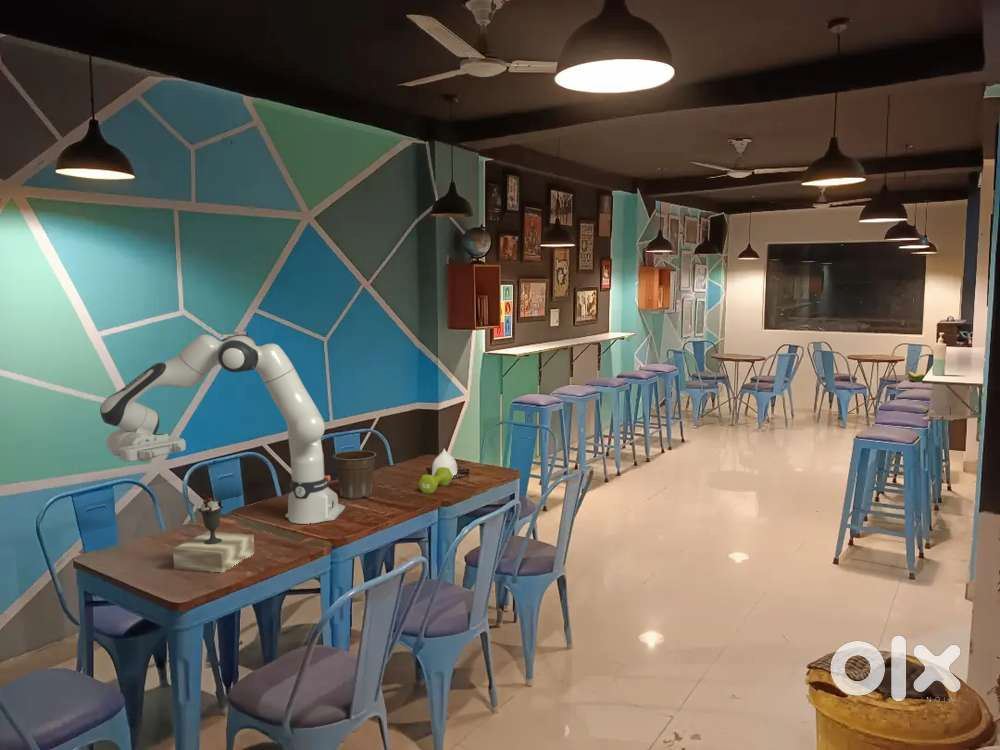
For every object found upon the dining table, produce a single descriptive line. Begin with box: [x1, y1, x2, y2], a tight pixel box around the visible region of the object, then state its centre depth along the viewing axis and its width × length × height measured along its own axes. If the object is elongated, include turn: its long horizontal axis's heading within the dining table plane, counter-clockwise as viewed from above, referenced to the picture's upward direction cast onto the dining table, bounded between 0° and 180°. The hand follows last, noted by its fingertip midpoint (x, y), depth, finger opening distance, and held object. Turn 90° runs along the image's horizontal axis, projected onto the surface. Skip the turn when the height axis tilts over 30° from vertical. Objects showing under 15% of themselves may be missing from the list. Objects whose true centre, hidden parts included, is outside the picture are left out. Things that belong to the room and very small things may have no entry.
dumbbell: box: [418, 467, 453, 495], centre depth 299 cm, size 16×8×7 cm, turn 156°
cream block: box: [172, 530, 255, 574], centre depth 222 cm, size 16×16×6 cm
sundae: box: [198, 493, 224, 544], centre depth 221 cm, size 7×7×15 cm
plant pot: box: [333, 450, 377, 500], centre depth 291 cm, size 16×16×16 cm
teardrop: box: [431, 448, 458, 476], centre depth 320 cm, size 11×11×12 cm
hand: (166, 452), depth 234 cm, fingers open, 8 cm apart
